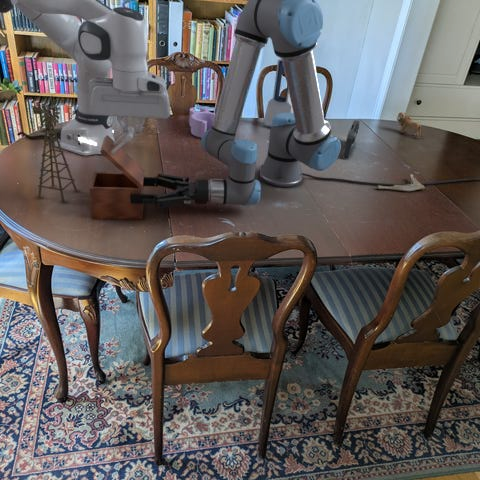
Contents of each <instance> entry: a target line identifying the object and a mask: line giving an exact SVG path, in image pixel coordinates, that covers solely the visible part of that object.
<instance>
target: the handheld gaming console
mask: <svg viewBox="0 0 480 480" xmlns="http://www.w3.org/2000/svg"><path fill="white" fill-rule="evenodd" d="M360 123H361V122H360V120H358V119H354V120H353V122H352V124H351V127H350V129H349V131H348V133H347V135H346V136H347V137H346V141H345V146H344V150H343V154H342V158H343V159H349V158H350V156H351V153H352V151H353V148H354V145H355V144H356V141H357V136H358V133H359V129H360Z"/></svg>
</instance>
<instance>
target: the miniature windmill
mask: <svg viewBox="0 0 480 480" xmlns="http://www.w3.org/2000/svg"><path fill="white" fill-rule="evenodd" d="M55 98H56V97H55V96H53V95H51V96H50V95H48V98H47V97H45V101H43V104H44V105H41V106H42V107H38V106H35V105H31V107H32V114H33V115H41V119H42V121H41V122H42V124H43V126H44V128H43V129H41V130H39V133H43V134H44V135H45V137H44V138H42V140H43V146H42V148H43V150H42V154H41V157H42V158H41V162H40V164H41V166H40V175H39V177H38V179H39V184H38V185H37V187H38V196H37V197H38V198H41V197H42V188H44V189H49V190H55V191H59V193H60V198H61V202H62V203H63V202H65V197H64V192H63V191H64V190H65V189H66V188H67V187H68V186H70V185H72V187H73V190H74V191H75V192H77V191H78V189H77V186H76V183H75V181H76V180H75V179H74V178H73V176H72V175H73V174H72V173H71V169H70V167H69V166H70V164H69V163H68V161H67V159H66V156H65V154H64V150H63V149H62V148H61V146H60V143H59V140H58V139H59V138H57V135H56V133H58V132H59V131H61V130H62V129H61V127H59V128H58V127H57V128H56V126H57V124H58V123H59V121H58V120H60V116H59V115H60V113H61V111H58V110H60V106H59V102H57V101H58V99H57V98H56V99H55ZM58 106H59V107H58ZM52 134H54V136H53V137H52ZM47 136H48V137H47ZM47 138H49V139H47ZM52 138H53V139H52ZM56 141H57V143H58V146H59V147H58V149H56V148H55V142H56ZM47 146H49V150H46V149H47ZM56 152H58V154H56ZM59 156H61V157H62V159H63V162H58V160H57V158H58V157H59ZM46 157H47V158H46ZM53 159H54V161H53ZM48 160H50V161H49V162H50V163H48V164H47V165H45V162H47V161H48ZM54 164H55V170H54ZM59 165H60V166H61V165H62V166H64V167H62V168H61V169H60V170H59ZM49 166H50V169H46V168H48V167H49ZM64 170H67V172H68V176H69V178H68V177H63V176H60V173H61V172H62V171H64ZM48 173H50V176H49V177H47V178H46V179H45V180H44V181H43V177H44V176H46V175H47V174H48ZM54 173H55V174H56V175H54ZM55 178H56V179H57V181H58V182H57V183H58V187H59V188H57V187H55ZM50 179H51V186H46V185H45V186H44V184H45V183H46V182H47V181H48V180H49V181H50ZM61 179H62V180H67V181H70V182H69V183H67V184H66V185H65V186H63V185H62V182H61ZM62 186H63V187H62Z"/></svg>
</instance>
